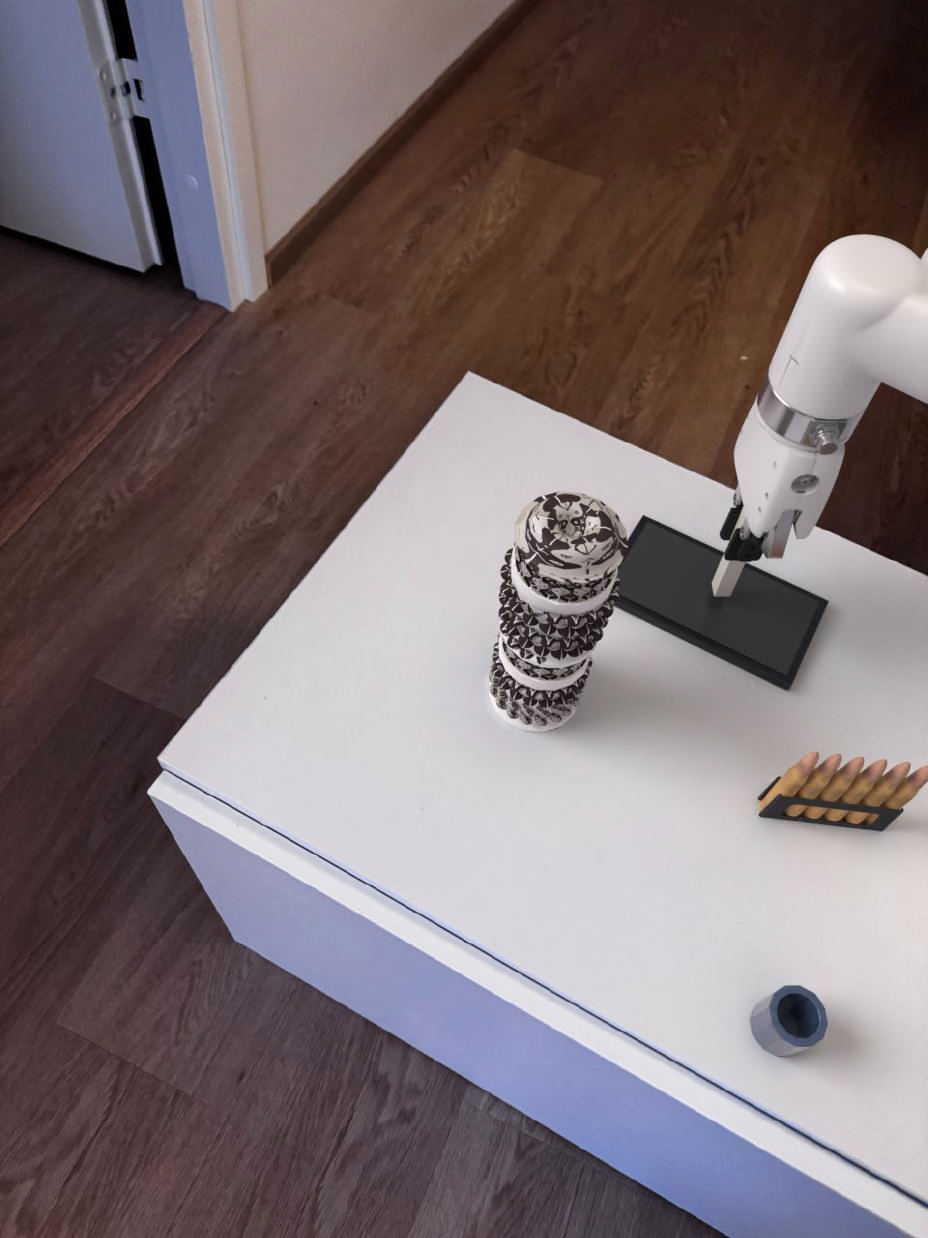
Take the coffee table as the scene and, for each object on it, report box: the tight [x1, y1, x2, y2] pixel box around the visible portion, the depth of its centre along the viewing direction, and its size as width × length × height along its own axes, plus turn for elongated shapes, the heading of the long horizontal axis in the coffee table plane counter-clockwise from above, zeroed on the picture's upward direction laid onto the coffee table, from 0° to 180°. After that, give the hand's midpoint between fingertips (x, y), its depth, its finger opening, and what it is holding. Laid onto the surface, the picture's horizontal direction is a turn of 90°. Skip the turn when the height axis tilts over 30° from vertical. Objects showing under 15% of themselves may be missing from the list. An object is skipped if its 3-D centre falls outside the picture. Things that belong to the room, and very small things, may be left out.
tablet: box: [606, 514, 830, 692], centre depth 95 cm, size 20×11×1 cm, turn 60°
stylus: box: [712, 506, 747, 598], centre depth 88 cm, size 2×2×14 cm
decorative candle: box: [488, 491, 628, 733], centre depth 78 cm, size 9×9×25 cm
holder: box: [749, 984, 829, 1057], centre depth 72 cm, size 4×4×5 cm
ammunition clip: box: [757, 750, 928, 832], centre depth 79 cm, size 11×2×12 cm, turn 84°
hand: (738, 546), depth 87 cm, fingers closed on stylus, 1 cm apart
